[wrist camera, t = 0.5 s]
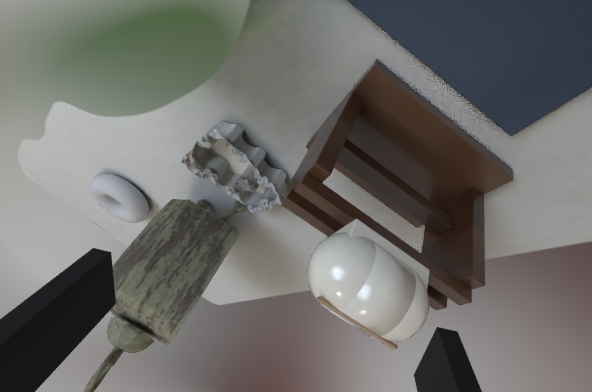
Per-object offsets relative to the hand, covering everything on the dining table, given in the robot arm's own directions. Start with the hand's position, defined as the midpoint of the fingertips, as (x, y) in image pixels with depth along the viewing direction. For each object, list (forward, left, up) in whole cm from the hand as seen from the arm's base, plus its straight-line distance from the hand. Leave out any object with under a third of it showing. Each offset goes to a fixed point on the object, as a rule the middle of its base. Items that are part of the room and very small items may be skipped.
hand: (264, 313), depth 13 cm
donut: (+41, -19, -19) cm, 49 cm away
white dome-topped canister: (+3, +6, -8) cm, 11 cm away
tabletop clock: (+29, -5, -19) cm, 35 cm away
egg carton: (+16, -5, -19) cm, 26 cm away
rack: (+3, +6, -19) cm, 20 cm away
